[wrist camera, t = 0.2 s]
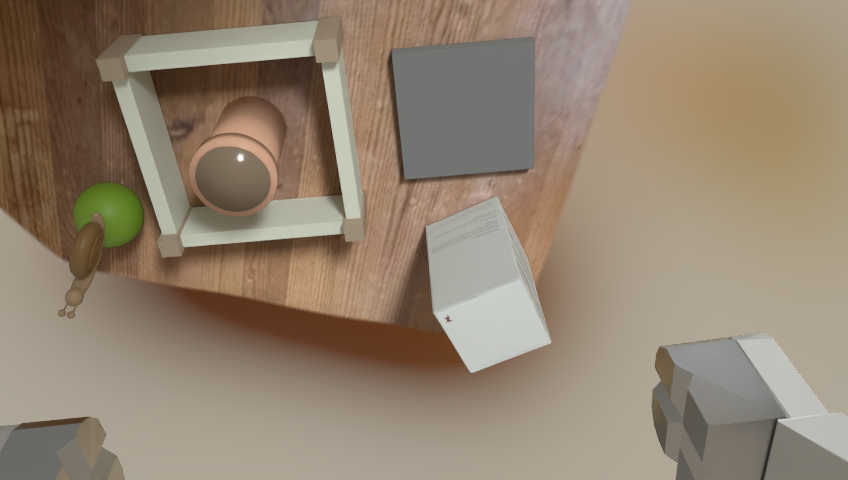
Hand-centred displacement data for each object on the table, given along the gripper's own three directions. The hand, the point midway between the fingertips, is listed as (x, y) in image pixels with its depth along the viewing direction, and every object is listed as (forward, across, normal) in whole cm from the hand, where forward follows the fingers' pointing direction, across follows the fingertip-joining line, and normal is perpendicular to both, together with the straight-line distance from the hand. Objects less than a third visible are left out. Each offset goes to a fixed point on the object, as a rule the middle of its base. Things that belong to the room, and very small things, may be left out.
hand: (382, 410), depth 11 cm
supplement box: (+48, -6, +28) cm, 56 cm away
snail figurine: (+49, +25, +20) cm, 59 cm away
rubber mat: (+48, -6, +15) cm, 50 cm away
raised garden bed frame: (+48, +12, +15) cm, 52 cm away
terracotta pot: (+48, +12, +15) cm, 52 cm away
